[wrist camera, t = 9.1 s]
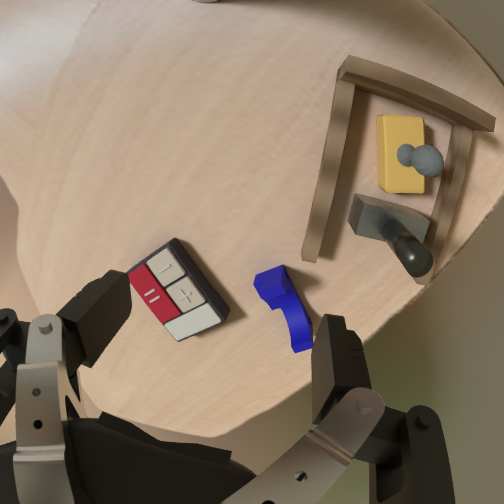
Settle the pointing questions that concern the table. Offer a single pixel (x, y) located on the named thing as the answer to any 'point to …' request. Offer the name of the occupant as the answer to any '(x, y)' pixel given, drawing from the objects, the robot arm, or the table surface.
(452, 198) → the frame
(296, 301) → the blue pipe saddle
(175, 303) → the calculator
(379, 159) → the rubber stamp
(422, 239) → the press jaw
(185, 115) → the table surface
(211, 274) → the table surface
